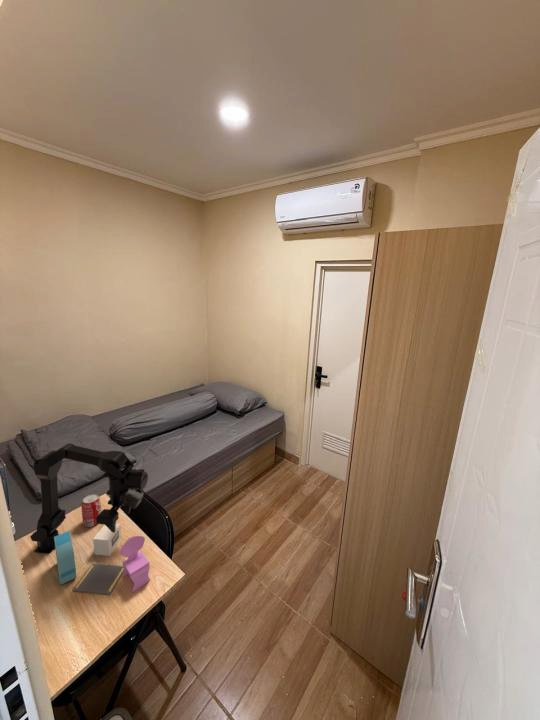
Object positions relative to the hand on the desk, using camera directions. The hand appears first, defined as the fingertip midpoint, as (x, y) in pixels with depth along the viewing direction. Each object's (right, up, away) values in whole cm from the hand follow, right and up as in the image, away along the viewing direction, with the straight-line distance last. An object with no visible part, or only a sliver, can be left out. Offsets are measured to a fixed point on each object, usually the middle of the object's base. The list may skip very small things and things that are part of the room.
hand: (121, 522), depth 109 cm
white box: (-7, -12, +4) cm, 14 cm away
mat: (-2, -15, -9) cm, 17 cm away
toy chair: (+10, -15, -8) cm, 20 cm away
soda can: (-20, -9, +15) cm, 27 cm away
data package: (-16, -14, -7) cm, 22 cm away
